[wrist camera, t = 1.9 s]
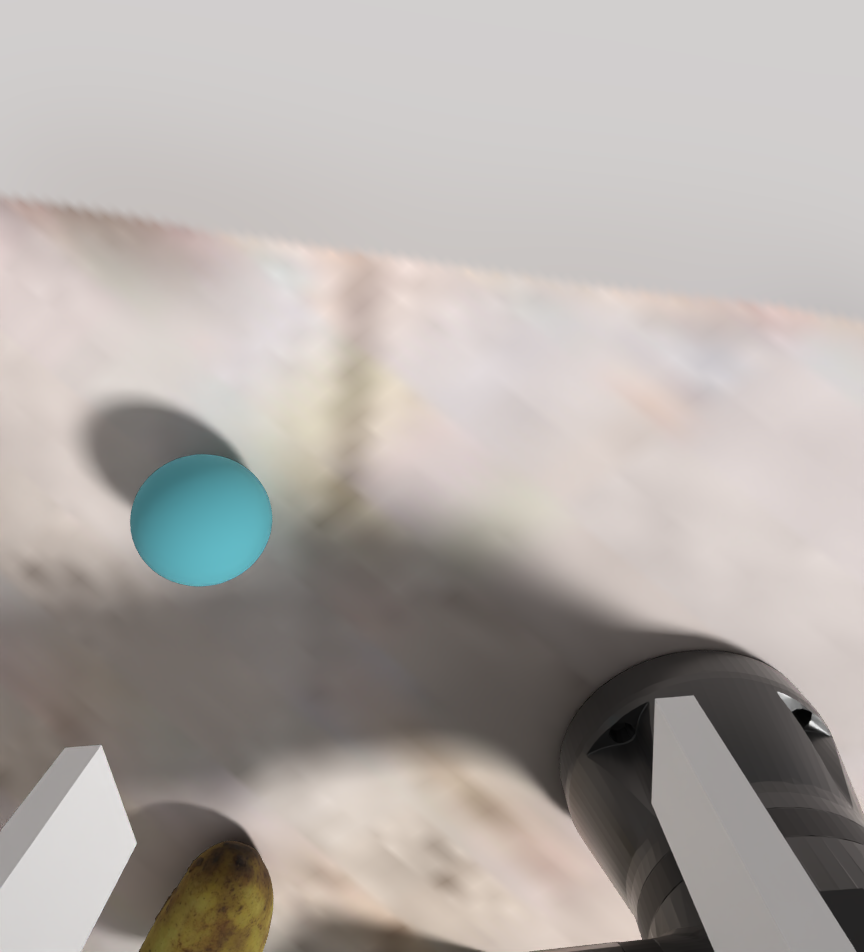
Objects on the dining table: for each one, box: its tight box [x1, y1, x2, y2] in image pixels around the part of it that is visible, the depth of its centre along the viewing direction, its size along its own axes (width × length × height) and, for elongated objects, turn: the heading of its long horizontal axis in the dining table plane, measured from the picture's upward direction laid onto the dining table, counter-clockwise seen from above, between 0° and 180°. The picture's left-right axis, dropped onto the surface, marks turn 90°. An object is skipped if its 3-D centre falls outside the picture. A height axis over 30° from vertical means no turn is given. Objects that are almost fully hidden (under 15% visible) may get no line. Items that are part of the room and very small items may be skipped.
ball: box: [130, 454, 272, 586], centre depth 26 cm, size 6×6×6 cm
